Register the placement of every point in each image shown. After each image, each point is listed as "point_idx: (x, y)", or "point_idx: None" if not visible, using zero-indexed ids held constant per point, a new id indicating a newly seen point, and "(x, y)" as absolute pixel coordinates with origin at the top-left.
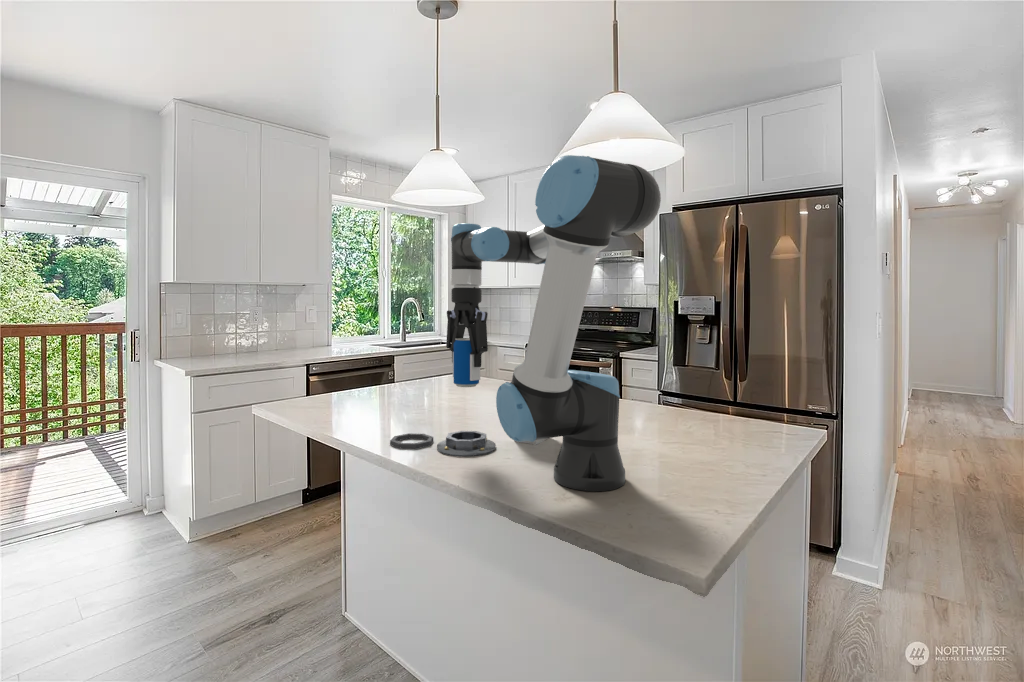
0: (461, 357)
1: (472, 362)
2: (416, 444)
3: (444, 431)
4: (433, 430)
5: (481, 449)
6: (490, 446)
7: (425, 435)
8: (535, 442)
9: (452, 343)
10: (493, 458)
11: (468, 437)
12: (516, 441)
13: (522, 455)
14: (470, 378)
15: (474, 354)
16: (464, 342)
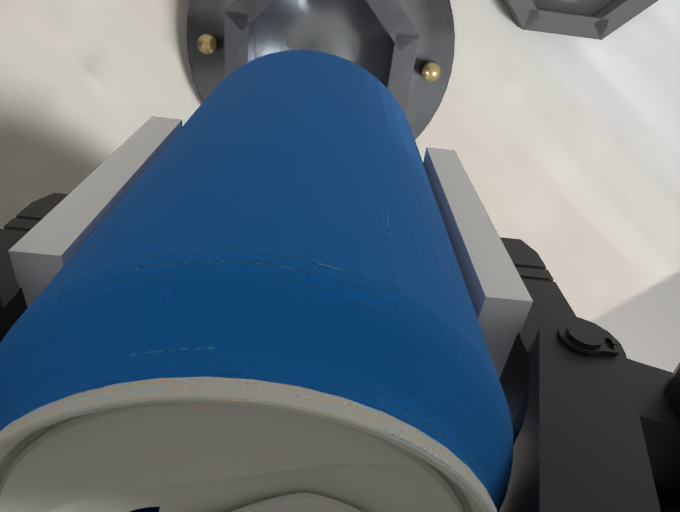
0: (181, 154)
1: (73, 201)
2: None
3: (576, 177)
4: (631, 158)
5: (202, 34)
6: None
7: (575, 19)
8: None
9: (607, 421)
10: (123, 18)
11: None
12: None
13: (90, 132)
14: (168, 125)
15: (5, 284)
16: (36, 368)
